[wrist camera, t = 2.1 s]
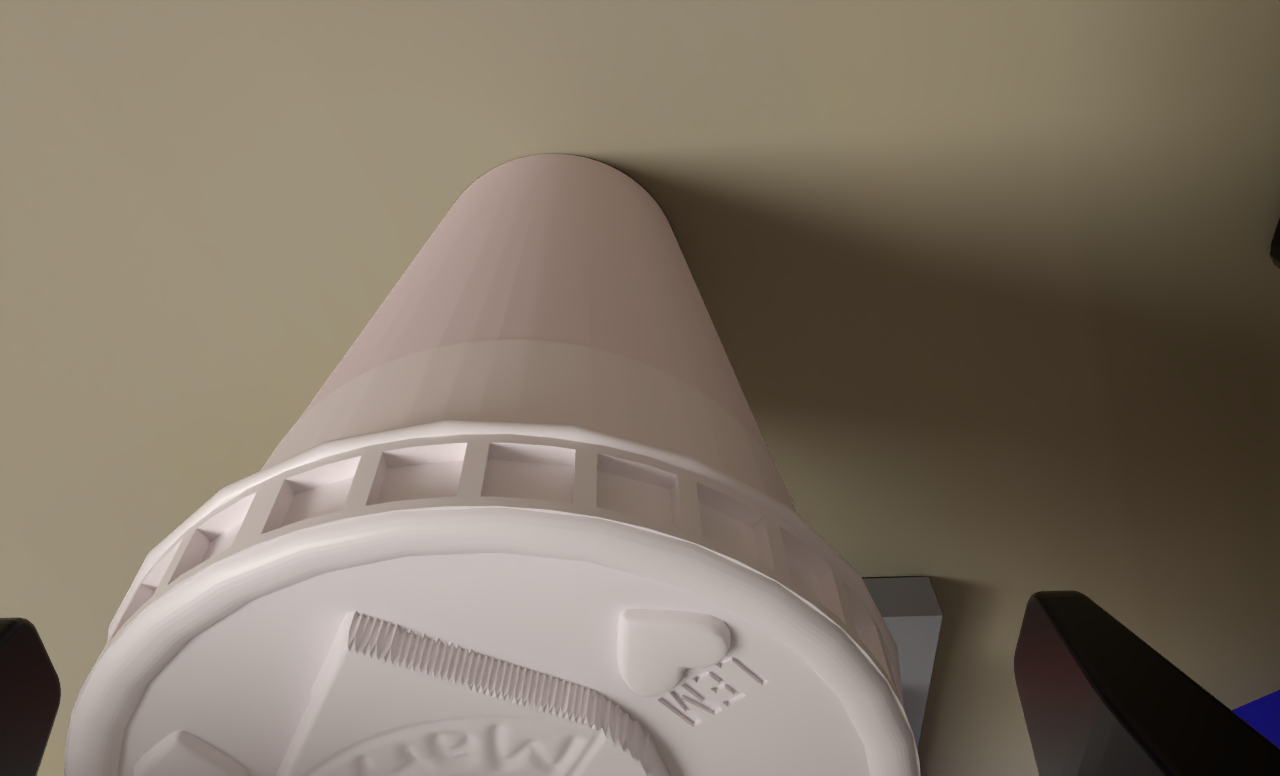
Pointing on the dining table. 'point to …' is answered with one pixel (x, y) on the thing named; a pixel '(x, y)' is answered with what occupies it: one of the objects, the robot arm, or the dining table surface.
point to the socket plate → (910, 636)
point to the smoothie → (508, 543)
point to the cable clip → (1263, 716)
